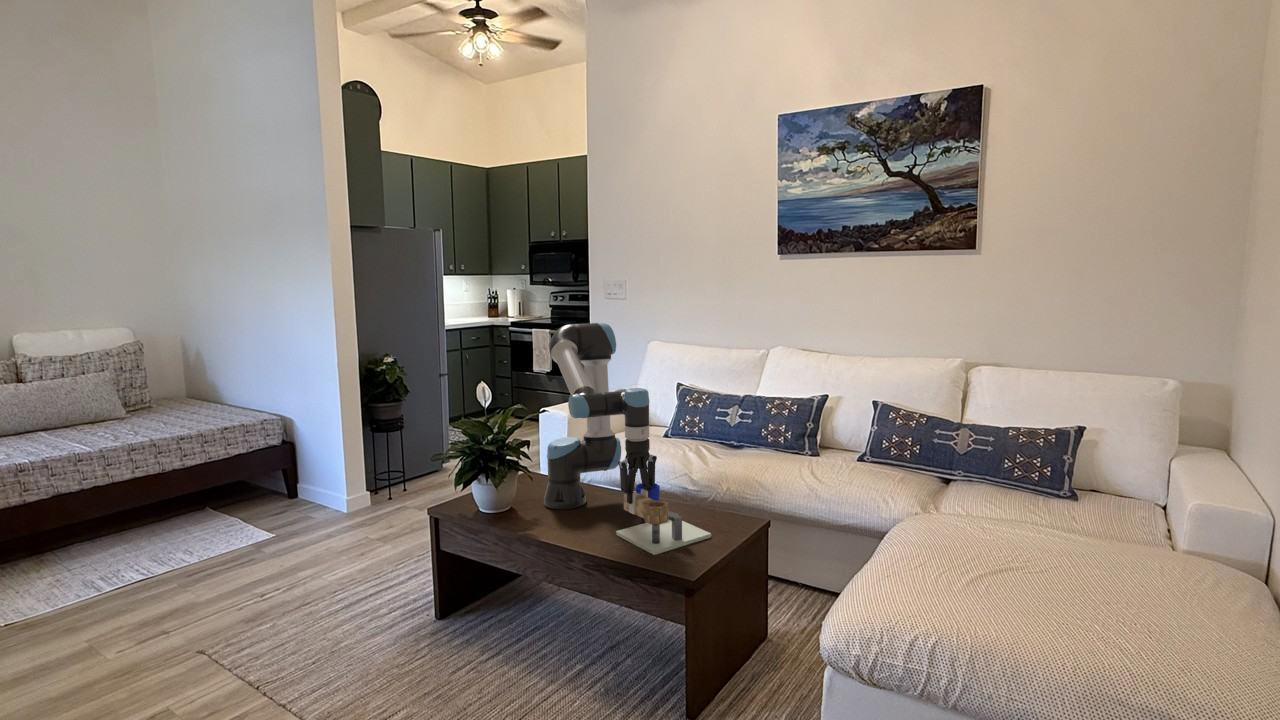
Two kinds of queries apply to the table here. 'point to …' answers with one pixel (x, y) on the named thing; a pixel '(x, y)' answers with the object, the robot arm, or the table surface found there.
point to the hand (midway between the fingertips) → (638, 511)
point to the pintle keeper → (675, 528)
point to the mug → (653, 493)
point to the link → (649, 509)
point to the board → (662, 536)
